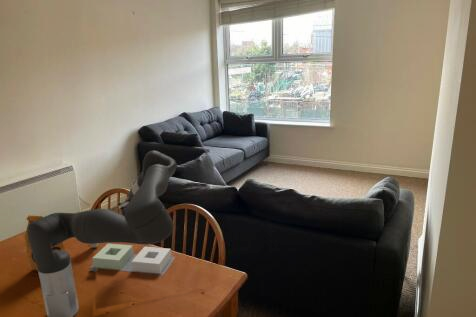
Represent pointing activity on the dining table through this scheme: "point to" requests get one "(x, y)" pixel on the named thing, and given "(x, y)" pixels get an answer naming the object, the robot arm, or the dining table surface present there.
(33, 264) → the coffee package
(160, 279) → the dining table surface
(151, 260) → the square hole base
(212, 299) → the dining table surface
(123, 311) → the dining table surface
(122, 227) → the robot arm
